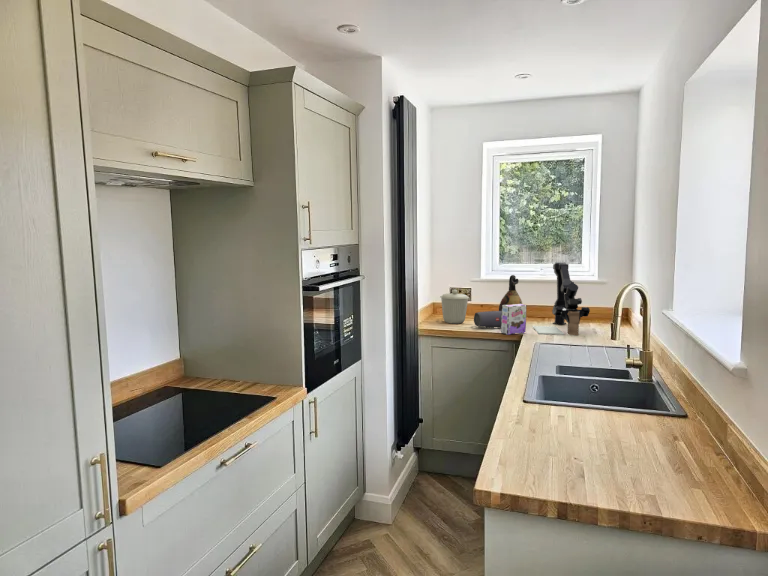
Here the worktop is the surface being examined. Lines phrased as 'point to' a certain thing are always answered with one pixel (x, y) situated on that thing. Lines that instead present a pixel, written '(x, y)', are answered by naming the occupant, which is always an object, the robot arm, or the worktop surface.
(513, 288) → the ceramic jug
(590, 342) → the worktop surface
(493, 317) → the bluetooth speaker
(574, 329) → the walnut block
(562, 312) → the robot arm
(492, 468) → the worktop surface
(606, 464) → the worktop surface
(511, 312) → the candy box
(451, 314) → the canister
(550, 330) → the sage mat
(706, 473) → the worktop surface
